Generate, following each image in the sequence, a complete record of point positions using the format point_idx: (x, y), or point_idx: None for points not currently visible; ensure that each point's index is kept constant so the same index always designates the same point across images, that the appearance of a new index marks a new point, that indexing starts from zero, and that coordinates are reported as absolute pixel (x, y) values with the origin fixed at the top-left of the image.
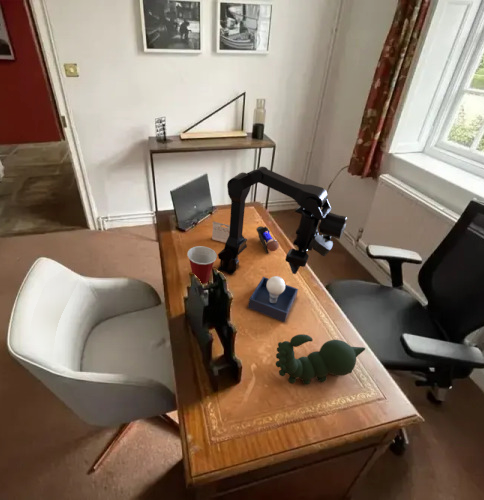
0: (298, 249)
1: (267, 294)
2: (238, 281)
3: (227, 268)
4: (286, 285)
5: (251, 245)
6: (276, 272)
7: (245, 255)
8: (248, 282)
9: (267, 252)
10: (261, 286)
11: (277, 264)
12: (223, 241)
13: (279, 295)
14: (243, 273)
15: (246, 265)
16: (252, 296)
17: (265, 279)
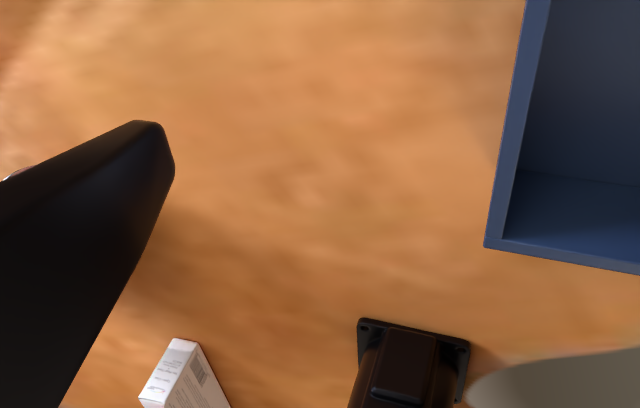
0: (69, 386)
1: (624, 115)
2: (521, 306)
3: (453, 391)
4: (537, 18)
5: None
6: (262, 94)
7: (236, 292)
8: (502, 254)
9: None
10: (557, 196)
11: (166, 105)
12: (216, 387)
13: (600, 3)
14: (416, 288)
15: (324, 280)
16: None
17: (505, 220)
